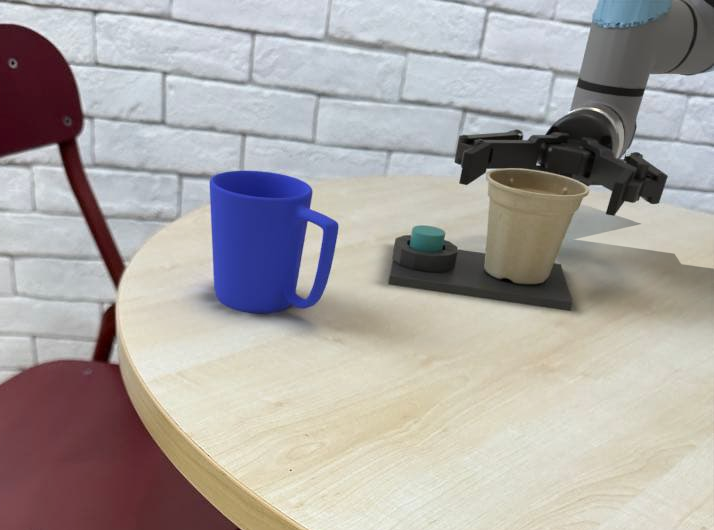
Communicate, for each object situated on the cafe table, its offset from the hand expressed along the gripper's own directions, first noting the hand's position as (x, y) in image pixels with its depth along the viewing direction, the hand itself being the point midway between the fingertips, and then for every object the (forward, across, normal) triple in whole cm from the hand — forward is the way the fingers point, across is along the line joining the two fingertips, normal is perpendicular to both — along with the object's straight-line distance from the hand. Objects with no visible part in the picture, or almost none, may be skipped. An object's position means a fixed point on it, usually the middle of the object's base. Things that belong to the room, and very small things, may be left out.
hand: (538, 183), depth 76 cm
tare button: (+1, +9, -7) cm, 12 cm away
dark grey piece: (0, +4, -10) cm, 11 cm away
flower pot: (-2, 0, -9) cm, 9 cm away
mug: (+19, +16, -10) cm, 27 cm away
